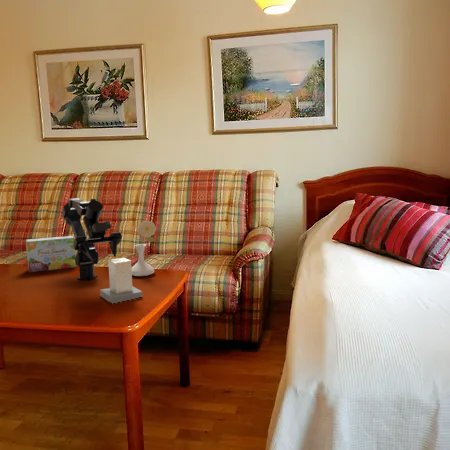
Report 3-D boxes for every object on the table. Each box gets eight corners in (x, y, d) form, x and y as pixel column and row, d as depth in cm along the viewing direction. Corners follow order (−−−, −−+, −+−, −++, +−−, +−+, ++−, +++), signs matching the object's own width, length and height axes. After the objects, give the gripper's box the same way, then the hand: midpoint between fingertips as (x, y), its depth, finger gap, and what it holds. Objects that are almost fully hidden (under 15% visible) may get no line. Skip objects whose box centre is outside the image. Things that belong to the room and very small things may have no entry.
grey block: (100, 297, 171) (100, 289, 171) (129, 291, 178) (129, 284, 178) (112, 305, 162) (111, 297, 161) (142, 299, 169) (142, 291, 168)
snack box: (29, 273, 206) (26, 241, 204) (28, 270, 211) (25, 239, 209) (76, 267, 216) (74, 236, 213) (74, 264, 221) (72, 235, 218)
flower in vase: (126, 278, 195) (123, 222, 191) (132, 271, 206) (130, 218, 203) (155, 278, 195) (153, 222, 191) (160, 271, 206) (158, 218, 202)
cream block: (109, 290, 170) (108, 260, 168) (125, 287, 174) (123, 257, 172) (116, 294, 165) (115, 263, 163) (132, 291, 169) (131, 260, 167)
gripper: (73, 216, 171) (84, 249, 164) (119, 212, 182) (131, 243, 175) (68, 233, 179) (79, 265, 172) (113, 228, 190) (124, 258, 183)
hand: (104, 258), depth 175 cm, fingers open, 9 cm apart
